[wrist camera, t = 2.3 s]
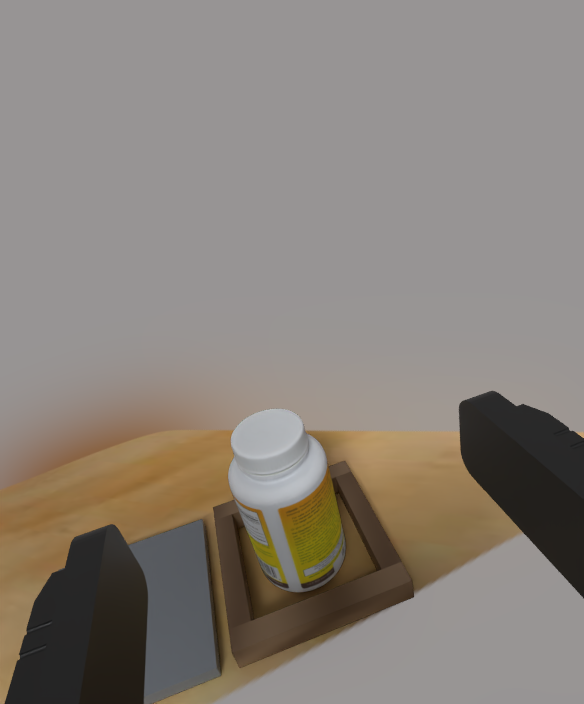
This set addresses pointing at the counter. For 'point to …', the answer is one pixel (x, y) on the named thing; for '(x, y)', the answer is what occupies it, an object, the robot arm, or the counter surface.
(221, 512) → the pocket frame
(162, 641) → the slate coaster
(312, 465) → the supplement bottle
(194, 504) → the counter surface
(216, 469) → the counter surface
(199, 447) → the counter surface
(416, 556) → the counter surface
